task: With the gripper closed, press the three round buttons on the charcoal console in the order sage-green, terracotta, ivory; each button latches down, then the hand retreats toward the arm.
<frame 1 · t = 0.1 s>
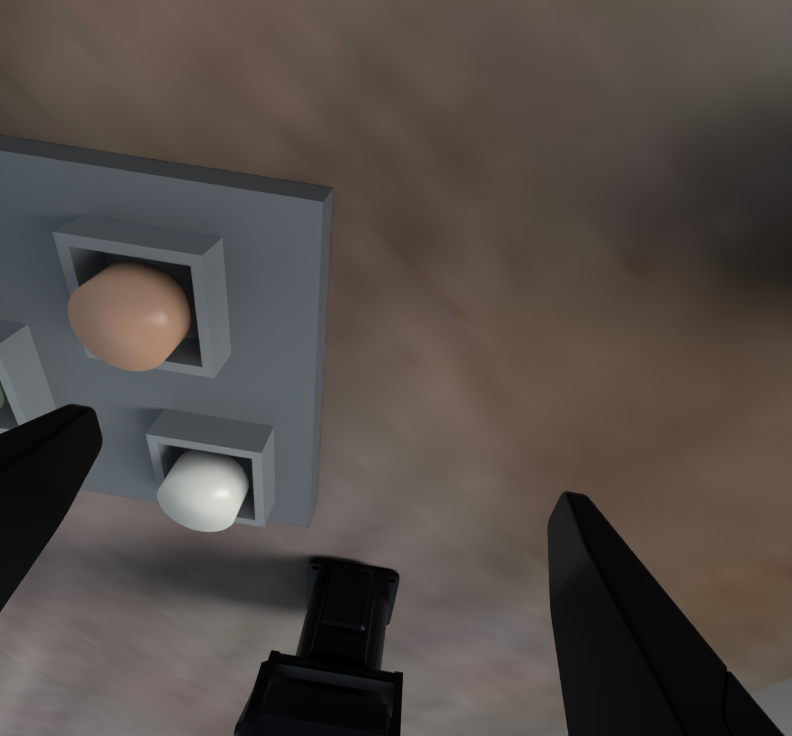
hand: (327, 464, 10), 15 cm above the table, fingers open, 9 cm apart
terracotta button: (133, 316, 20), point 5 cm above the table, slide at 0.0 cm
ivory button: (204, 490, 26), point 5 cm above the table, slide at 0.0 cm
console: (120, 345, 27), on the table
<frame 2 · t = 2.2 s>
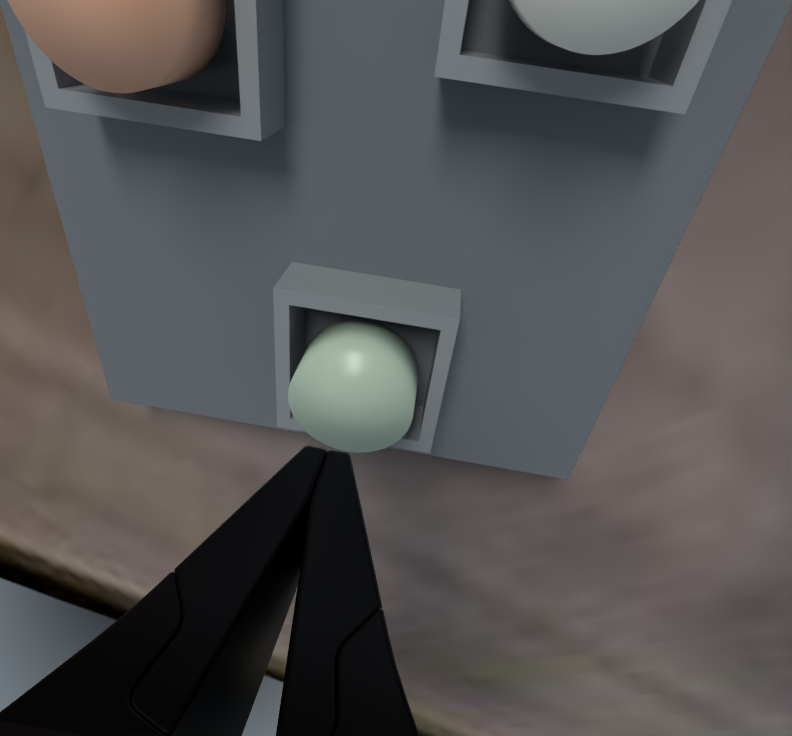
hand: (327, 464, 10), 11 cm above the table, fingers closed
console: (364, 160, 17), on the table
sage button: (356, 387, 17), point 5 cm above the table, slide at 0.0 cm
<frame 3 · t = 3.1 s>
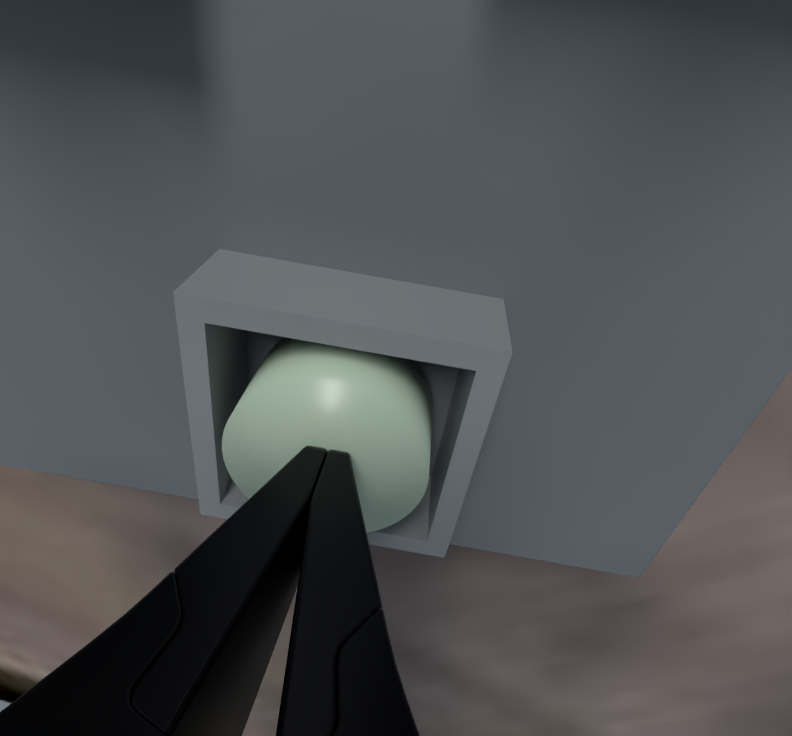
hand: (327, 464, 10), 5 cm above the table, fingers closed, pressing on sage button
console: (343, 81, 10), on the table
sage button: (335, 432, 10), point 4 cm above the table, slide at 0.9 cm, touching gripper
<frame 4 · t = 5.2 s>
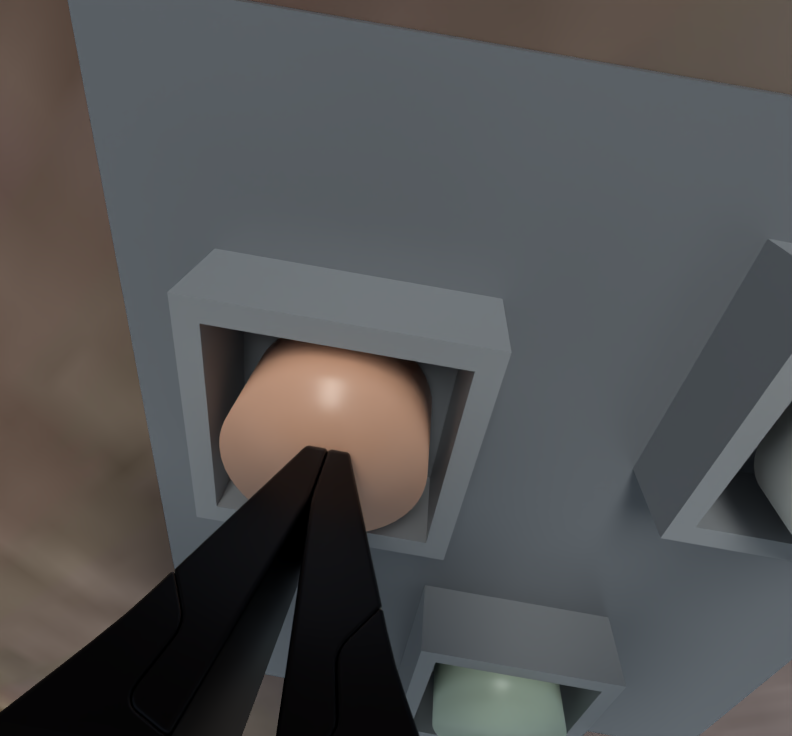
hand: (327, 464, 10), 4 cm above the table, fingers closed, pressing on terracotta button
terracotta button: (333, 431, 10), point 3 cm above the table, slide at 1.0 cm, touching gripper
console: (506, 479, 16), on the table
sage button: (496, 694, 16), point 3 cm above the table, slide at 1.0 cm
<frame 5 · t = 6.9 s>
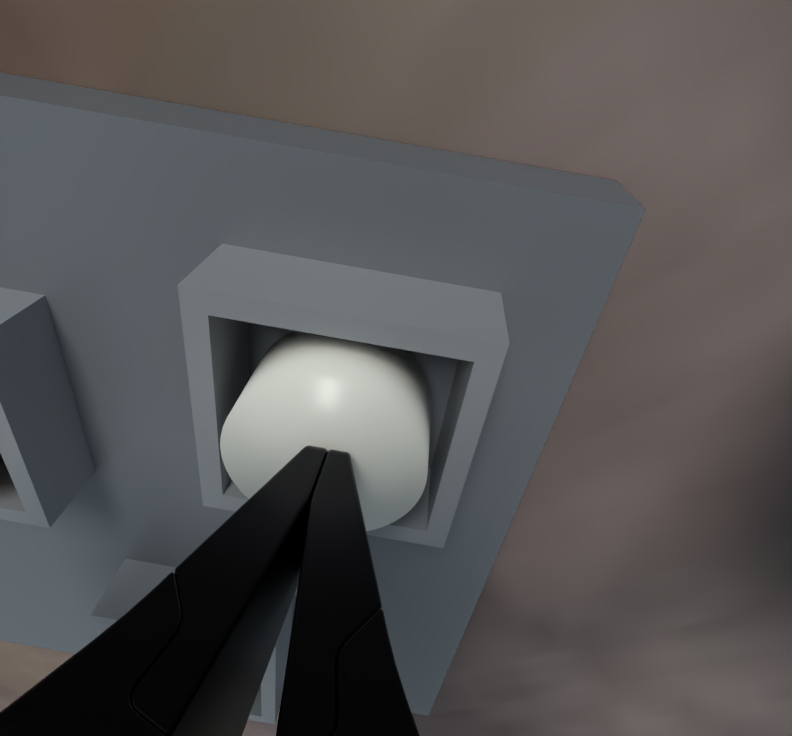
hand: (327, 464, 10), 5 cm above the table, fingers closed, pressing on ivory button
ivory button: (333, 431, 10), point 4 cm above the table, slide at 0.7 cm, touching gripper
console: (198, 462, 17), on the table
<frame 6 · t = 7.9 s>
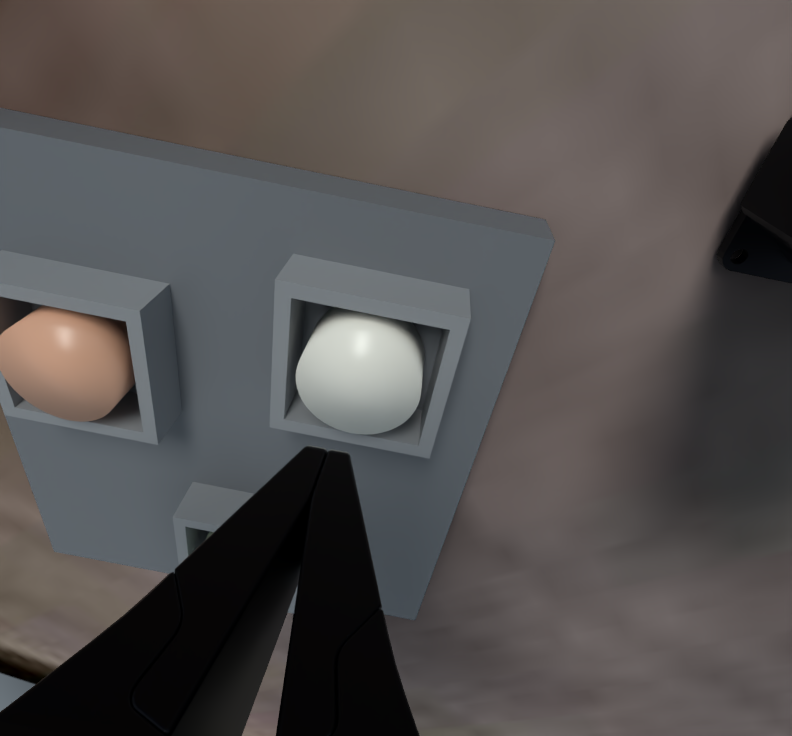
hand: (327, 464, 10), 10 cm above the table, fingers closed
terracotta button: (75, 359, 18), point 3 cm above the table, slide at 1.0 cm
ivory button: (362, 368, 17), point 3 cm above the table, slide at 1.0 cm
console: (248, 410, 23), on the table
sage button: (244, 559, 23), point 3 cm above the table, slide at 1.0 cm
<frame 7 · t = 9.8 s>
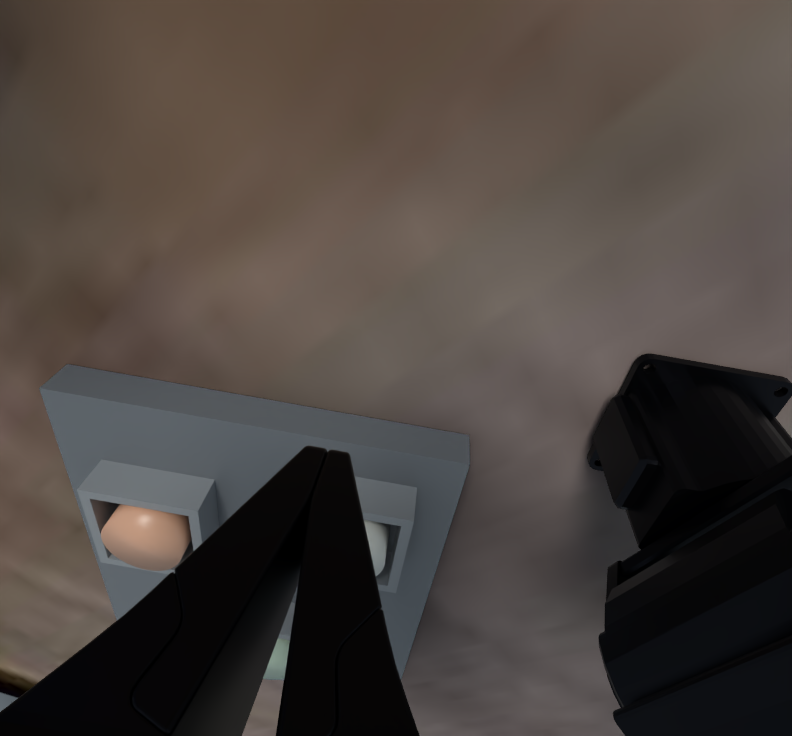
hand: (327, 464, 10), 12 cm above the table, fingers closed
terracotta button: (151, 529, 26), point 3 cm above the table, slide at 1.0 cm
ivory button: (346, 539, 25), point 3 cm above the table, slide at 1.0 cm
console: (268, 538, 31), on the table
sage button: (267, 646, 31), point 3 cm above the table, slide at 1.0 cm
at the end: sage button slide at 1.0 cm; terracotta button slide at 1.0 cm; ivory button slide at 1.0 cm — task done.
